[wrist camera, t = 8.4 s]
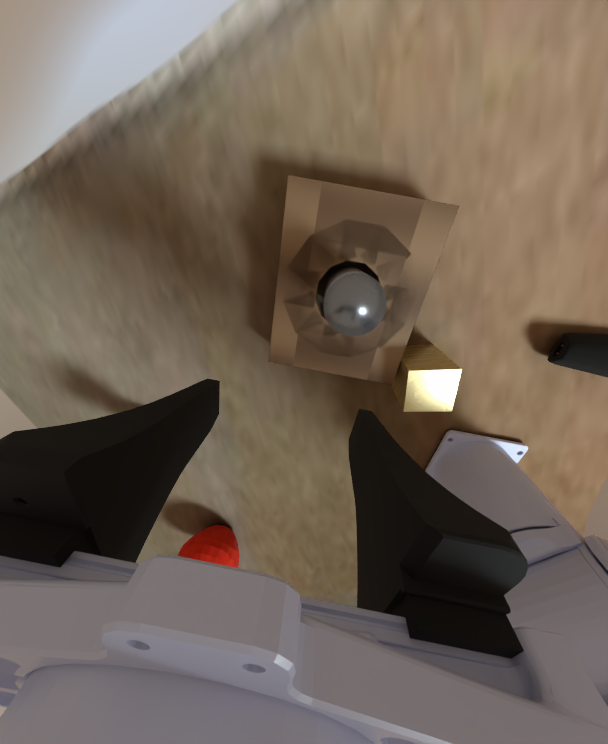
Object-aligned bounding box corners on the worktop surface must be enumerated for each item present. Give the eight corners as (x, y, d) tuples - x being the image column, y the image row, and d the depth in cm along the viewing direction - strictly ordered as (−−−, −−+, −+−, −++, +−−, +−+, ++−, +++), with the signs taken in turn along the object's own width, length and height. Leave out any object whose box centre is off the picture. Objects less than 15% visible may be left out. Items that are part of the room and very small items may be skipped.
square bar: (426, 379, 22) (451, 411, 18) (388, 380, 22) (403, 411, 18) (432, 344, 21) (461, 369, 16) (391, 345, 21) (408, 370, 16)
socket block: (383, 368, 22) (391, 384, 19) (275, 348, 22) (268, 361, 19) (438, 213, 16) (459, 205, 14) (294, 187, 17) (288, 175, 14)
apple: (202, 504, 33) (171, 567, 27) (254, 525, 34) (237, 590, 28) (188, 533, 37) (157, 595, 30) (236, 551, 38) (217, 614, 31)
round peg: (359, 313, 19) (374, 342, 13) (321, 304, 19) (316, 328, 13) (373, 271, 18) (396, 281, 12) (331, 261, 18) (332, 266, 12)
